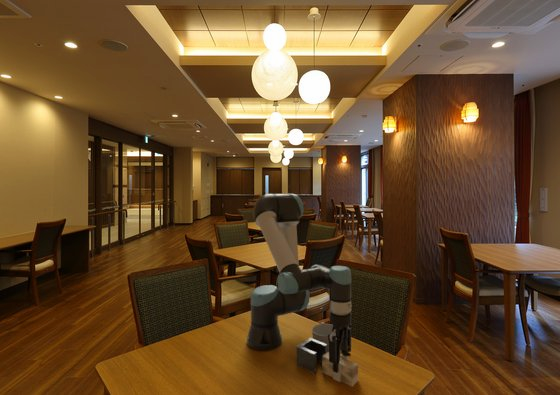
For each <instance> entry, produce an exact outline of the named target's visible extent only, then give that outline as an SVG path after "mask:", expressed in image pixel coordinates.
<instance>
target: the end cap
mask: <svg viewBox="0 0 560 395" xmlns="http://www.w3.org/2000/svg"><path fill="white" fill-rule="evenodd" d="M295 350H296V360H295V361H296V365H295V366H298V367H300V368H302V369H305V371H308V372H310V373H312V374H315V373H316V372H317V362H319V363H322V356H323V355H324V354H326V353H327V352H328V351H327V344H325V343H323V342H320V341H318V340H315V339H313V337H309V338H308V339H306V340H304V341H303V342H301V343H299V344H298V345H297V346H296V348H295Z"/></svg>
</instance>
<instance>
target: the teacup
mask: <svg viewBox="0 0 560 395" xmlns="http://www.w3.org/2000/svg"><path fill="white" fill-rule="evenodd" d="M332 329H333V325H332V323H331V324H330V323H325V322H324V321H321V322H320V323H319V324H316V325H314V326H313V327H312V328H311V332H312V334H311V336H312V339H315V340H318V341H320V342H323V343H325V344H327V352H329V340H328V334H330V335H331V334H332Z"/></svg>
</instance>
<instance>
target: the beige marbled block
mask: <svg viewBox="0 0 560 395" xmlns="http://www.w3.org/2000/svg"><path fill="white" fill-rule="evenodd" d="M340 362H341V383H344V384H346V385H347V386H349V387H352V388H353V387H354V386H355V385H356V384H357V383H358V382H359V363H357V362H355V361H352V360H350V359H348V360H347V359H345V358H342V357H340ZM321 366H322V368H321V370H322V371H321V372H322V374H325V375H327V376H329V377H331V378H333V363H331V362H329V351H327V353H326V354H324V355H323V356H322V362H321Z"/></svg>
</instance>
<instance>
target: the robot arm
mask: <svg viewBox="0 0 560 395" xmlns="http://www.w3.org/2000/svg"><path fill="white" fill-rule="evenodd" d="M304 207H305V206H304V203H303V201H302V199H301V198H300V196H299V195H297V194H295V193H267V194H263V195H262V196H260V197H259V198H258V199H257V200H256V202H255V203H254V206H253V210H252V215H253V219H254V220H253V221H254V223H255V225H256V226H257V227H259V228H260V231H261V233H262V235H263V237H264V240H265V242H266V244H267V246H268V249H269V251H270V254H271V256H272V259H273V260H274V262H275V265H276V268H277V270H278V273H279V274H278V276H277V280H276V283H277V286H276V285H273V284H269V285H267V284H266V285H265V284H264V285H260V286H257V287H256V288H255V289H253V290H252V292H251V296H250V326H249V330H248V334H247V337H246V344H247V346H248V347H249V348H251V349H252V350H255V351H259V352H260V351H264V352H265V351H272V350H275V349H277V348H279V347H280V346H281V345H282V343H283V342H282V341H283V338H282V337H283V335H282V333H281V331H280V330H281V329H280V327H279V322H278V321H279V319H278V318H279V316H284V315H288V314H293V313H299V312H300V311H301V312H302V311H304V310H305V309H306V308H307V307H308V305H309V303H310V296H311V295H310V291H312V290H317V289H318V290H319V289H321V288H322V289H324V290H326V291H329V322H330V323H331V325H333V329H332V334H331V335H330V334H328V340H329V351H328V352H329V362H331V363H333V377H332V379H333V380H334V381H336V382H339V383H340V382H341V362H340V357H342V358H345V359H347V360H349V359H348V357H351V356H352V354H351V351H352V330H353V324H352V307H353V305H352V281H353V280H352V271H351V269H350V267H348V266H344V265H333V266H331V267H327V266H325V265H321V264H313V265H312V266H310V268H306V269H305V268H304V269H301V267H300V263H299V246H298V245H299V244H298V233H297V232H298V231H297V228H298V227H297V226H298V224H299V223H300V218H302V217H303V215H304V211H305V210H304V209H305V208H304ZM341 383H342V382H341Z"/></svg>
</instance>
